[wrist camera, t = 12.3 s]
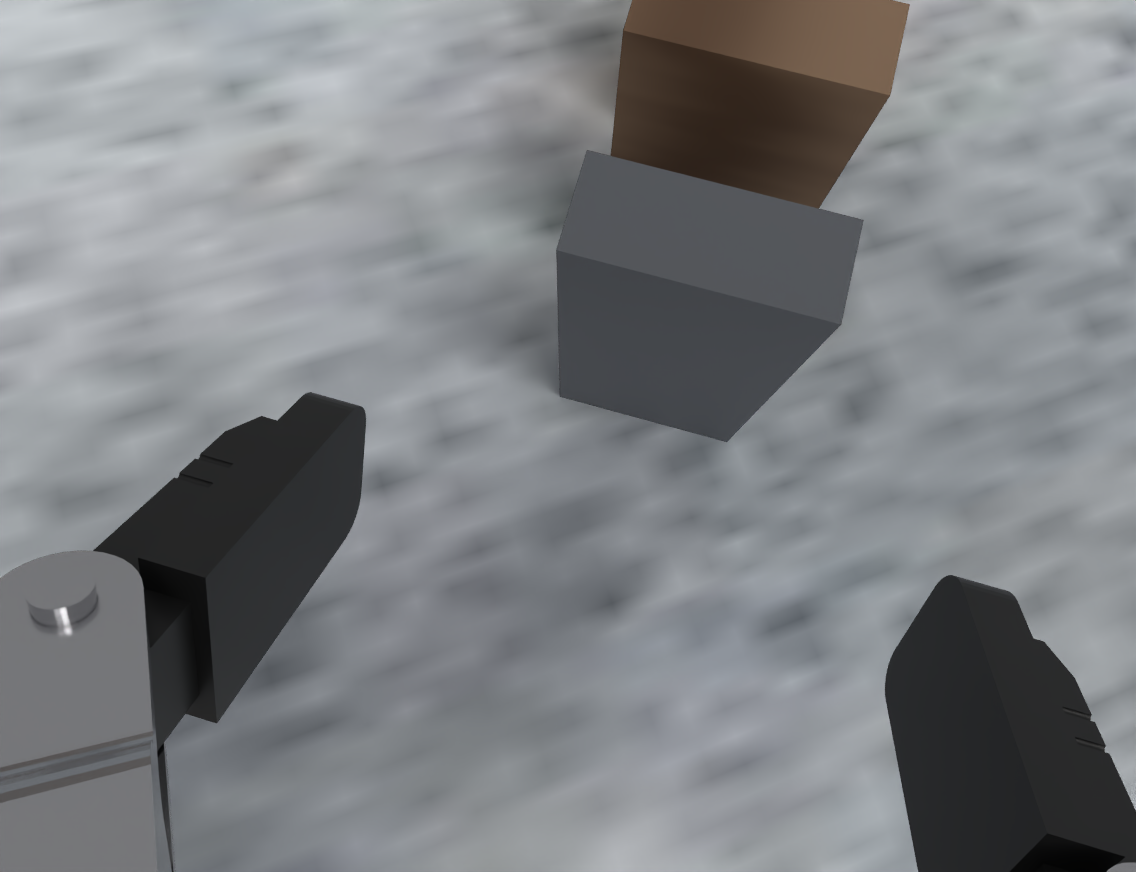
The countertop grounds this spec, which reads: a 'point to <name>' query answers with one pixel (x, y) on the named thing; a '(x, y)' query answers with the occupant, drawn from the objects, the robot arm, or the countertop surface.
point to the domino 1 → (755, 89)
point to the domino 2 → (692, 294)
